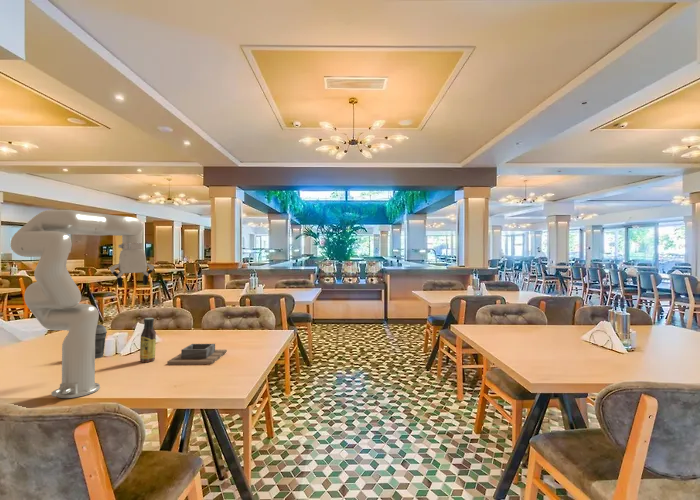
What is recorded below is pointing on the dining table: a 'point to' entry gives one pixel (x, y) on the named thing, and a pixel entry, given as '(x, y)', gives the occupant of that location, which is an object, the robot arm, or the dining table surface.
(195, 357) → the condiment holder
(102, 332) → the beverage cup
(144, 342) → the sauce bottle
